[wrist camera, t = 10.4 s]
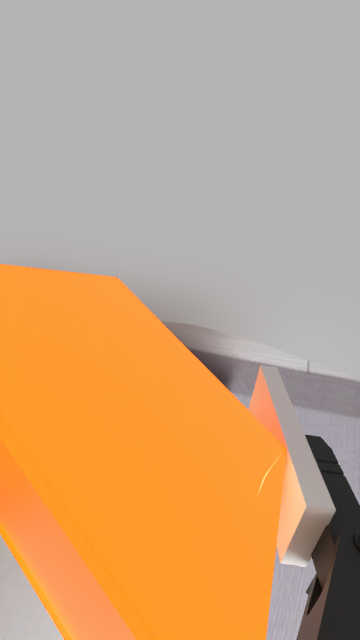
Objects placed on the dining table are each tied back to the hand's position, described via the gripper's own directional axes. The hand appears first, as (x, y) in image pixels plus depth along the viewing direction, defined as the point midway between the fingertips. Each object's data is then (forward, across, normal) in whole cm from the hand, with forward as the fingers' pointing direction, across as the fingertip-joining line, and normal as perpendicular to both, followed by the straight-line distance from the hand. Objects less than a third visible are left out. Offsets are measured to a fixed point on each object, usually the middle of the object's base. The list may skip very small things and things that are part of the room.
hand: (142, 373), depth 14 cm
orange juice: (+5, 0, -9) cm, 11 cm away
